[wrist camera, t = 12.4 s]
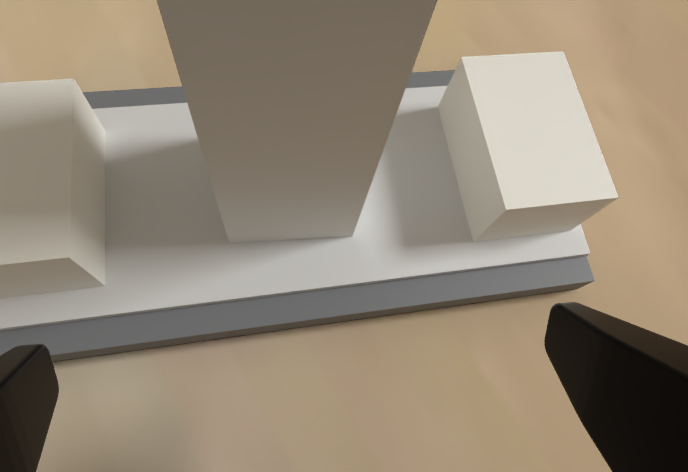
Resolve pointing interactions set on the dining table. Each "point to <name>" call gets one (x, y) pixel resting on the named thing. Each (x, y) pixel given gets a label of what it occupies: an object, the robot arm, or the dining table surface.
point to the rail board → (287, 255)
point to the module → (293, 104)
